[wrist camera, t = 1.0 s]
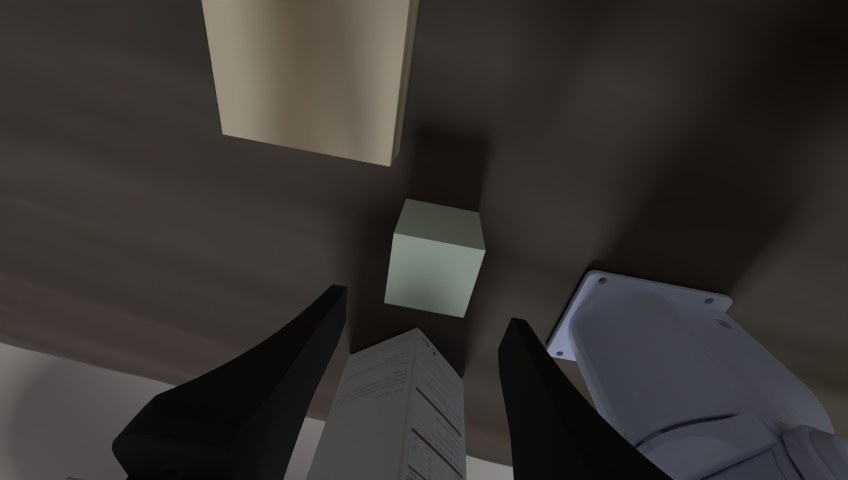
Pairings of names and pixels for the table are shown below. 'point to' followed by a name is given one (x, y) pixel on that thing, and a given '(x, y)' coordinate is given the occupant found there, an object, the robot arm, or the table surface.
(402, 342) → the supplement box
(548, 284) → the table surface
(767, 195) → the table surface
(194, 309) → the table surface
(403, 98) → the beech base
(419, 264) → the sage cube
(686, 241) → the table surface
